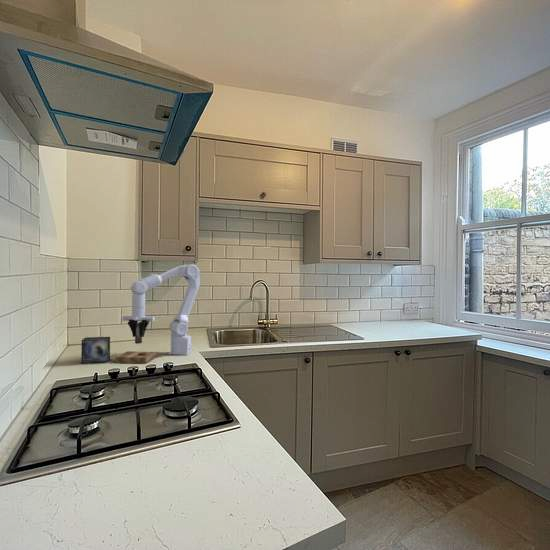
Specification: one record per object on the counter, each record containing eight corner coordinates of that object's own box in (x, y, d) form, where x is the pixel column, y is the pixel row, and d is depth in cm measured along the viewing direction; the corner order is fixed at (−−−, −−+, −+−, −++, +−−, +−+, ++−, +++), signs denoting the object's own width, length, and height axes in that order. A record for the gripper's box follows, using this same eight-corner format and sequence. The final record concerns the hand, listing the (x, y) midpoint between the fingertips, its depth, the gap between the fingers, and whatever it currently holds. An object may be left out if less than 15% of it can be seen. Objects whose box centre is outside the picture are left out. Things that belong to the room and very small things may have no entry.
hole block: (156, 357, 162) (156, 352, 162) (146, 363, 151) (146, 357, 151) (127, 356, 163) (127, 351, 163) (115, 362, 152) (115, 356, 152)
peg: (142, 342, 162) (143, 323, 162) (140, 343, 159) (140, 323, 159) (136, 342, 162) (136, 322, 162) (133, 343, 159) (134, 323, 159)
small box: (80, 364, 148) (80, 340, 148) (84, 360, 155) (84, 337, 154) (107, 363, 151) (107, 339, 151) (110, 359, 157) (110, 336, 157)
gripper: (118, 307, 157) (118, 337, 157) (150, 308, 155) (149, 338, 155) (126, 306, 164) (126, 335, 164) (156, 306, 162) (156, 335, 162)
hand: (138, 336), depth 160 cm, fingers closed on peg, 3 cm apart
